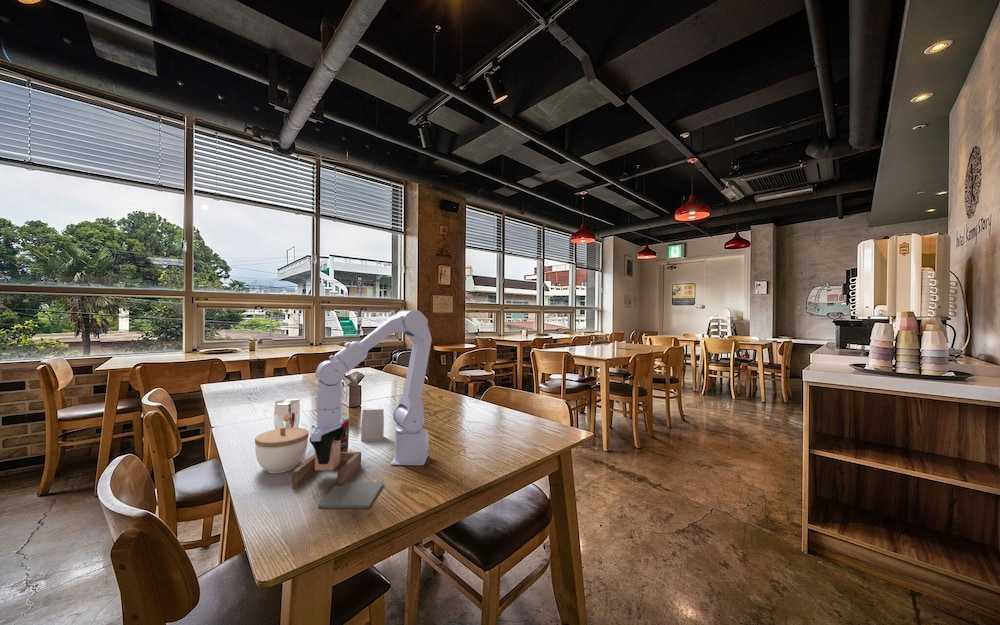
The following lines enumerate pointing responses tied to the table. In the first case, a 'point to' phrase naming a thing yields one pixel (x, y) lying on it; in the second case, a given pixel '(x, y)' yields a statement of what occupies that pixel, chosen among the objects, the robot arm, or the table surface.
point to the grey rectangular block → (372, 425)
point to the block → (333, 459)
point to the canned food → (345, 435)
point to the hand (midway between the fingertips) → (328, 459)
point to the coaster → (352, 495)
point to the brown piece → (347, 464)
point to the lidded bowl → (281, 449)
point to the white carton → (287, 413)
